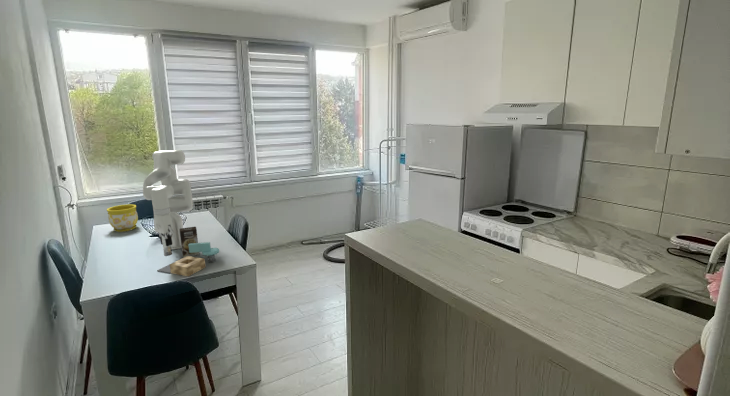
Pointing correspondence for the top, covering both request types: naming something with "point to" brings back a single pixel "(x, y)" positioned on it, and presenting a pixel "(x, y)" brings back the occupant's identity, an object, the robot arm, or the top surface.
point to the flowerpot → (123, 217)
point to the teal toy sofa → (204, 250)
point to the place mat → (165, 269)
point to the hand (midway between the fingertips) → (166, 244)
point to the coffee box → (188, 240)
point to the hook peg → (166, 247)
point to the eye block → (187, 266)
